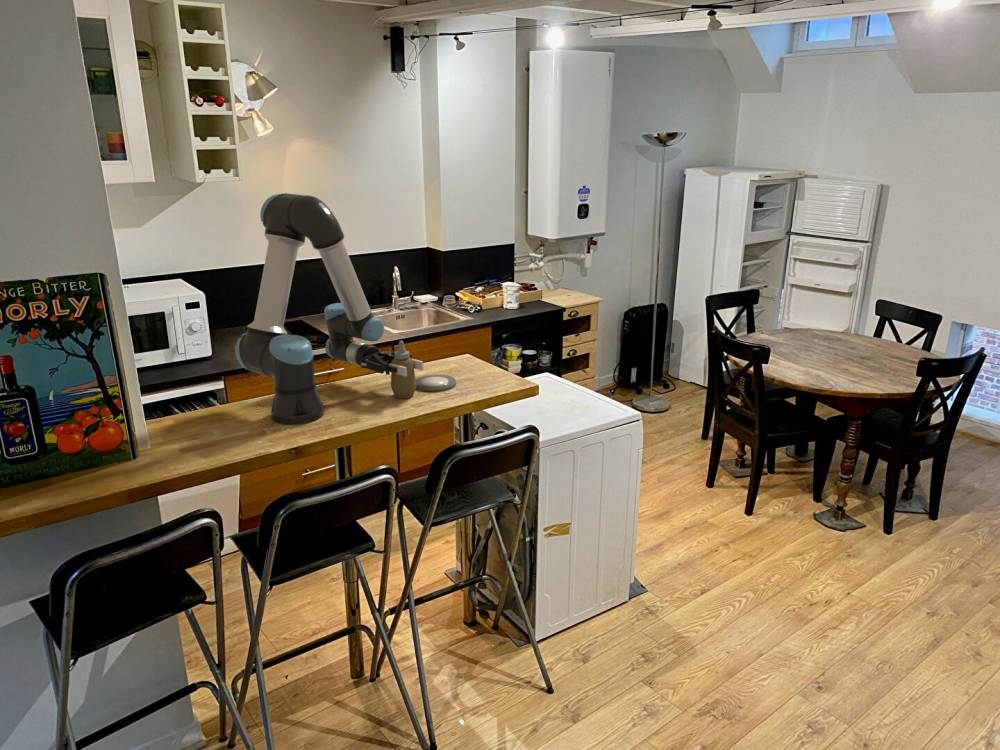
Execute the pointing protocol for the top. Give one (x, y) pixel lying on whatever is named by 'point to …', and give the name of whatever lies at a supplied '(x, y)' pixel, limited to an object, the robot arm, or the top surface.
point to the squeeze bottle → (403, 384)
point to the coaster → (435, 383)
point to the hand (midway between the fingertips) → (414, 368)
